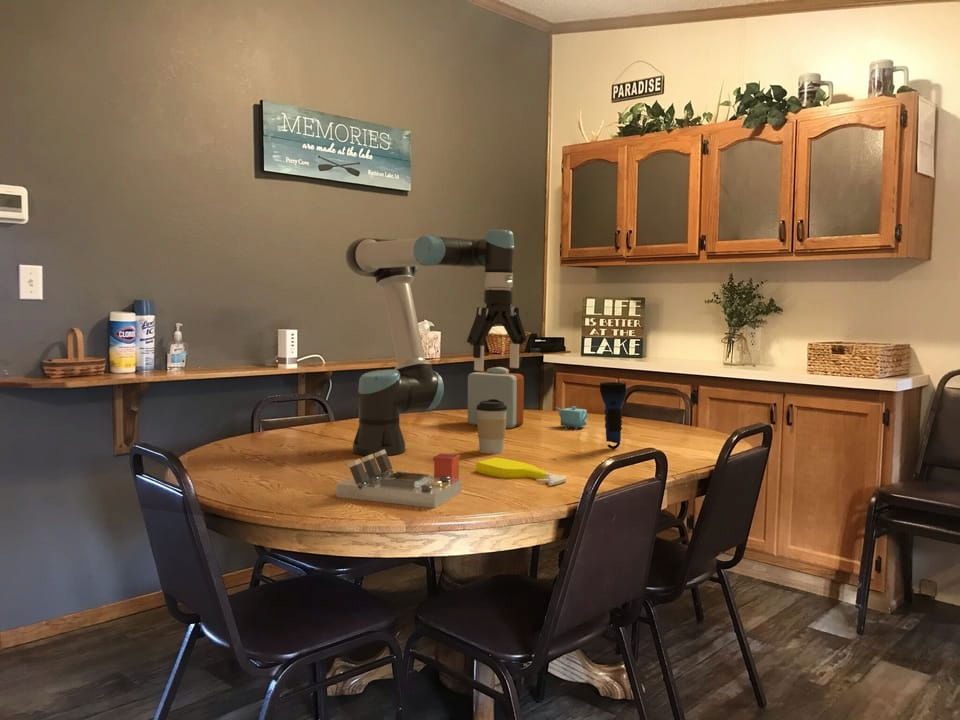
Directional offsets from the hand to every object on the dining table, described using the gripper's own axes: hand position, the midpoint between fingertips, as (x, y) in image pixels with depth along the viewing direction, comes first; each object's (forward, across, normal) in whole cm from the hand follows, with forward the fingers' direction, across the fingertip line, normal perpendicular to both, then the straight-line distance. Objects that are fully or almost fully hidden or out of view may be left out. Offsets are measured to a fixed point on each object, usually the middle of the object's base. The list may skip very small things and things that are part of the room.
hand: (497, 369), depth 208 cm
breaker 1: (+23, -47, -5) cm, 53 cm away
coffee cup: (+26, +13, +14) cm, 32 cm away
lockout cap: (+26, -25, -8) cm, 37 cm away
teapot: (+26, +64, +25) cm, 74 cm away
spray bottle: (+26, -5, -14) cm, 30 cm away
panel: (+26, -39, -8) cm, 48 cm away
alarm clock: (+27, +48, +46) cm, 72 cm away
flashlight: (+26, +42, -8) cm, 50 cm away
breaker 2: (+23, -42, -2) cm, 48 cm away
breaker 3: (+23, -36, 0) cm, 43 cm away
